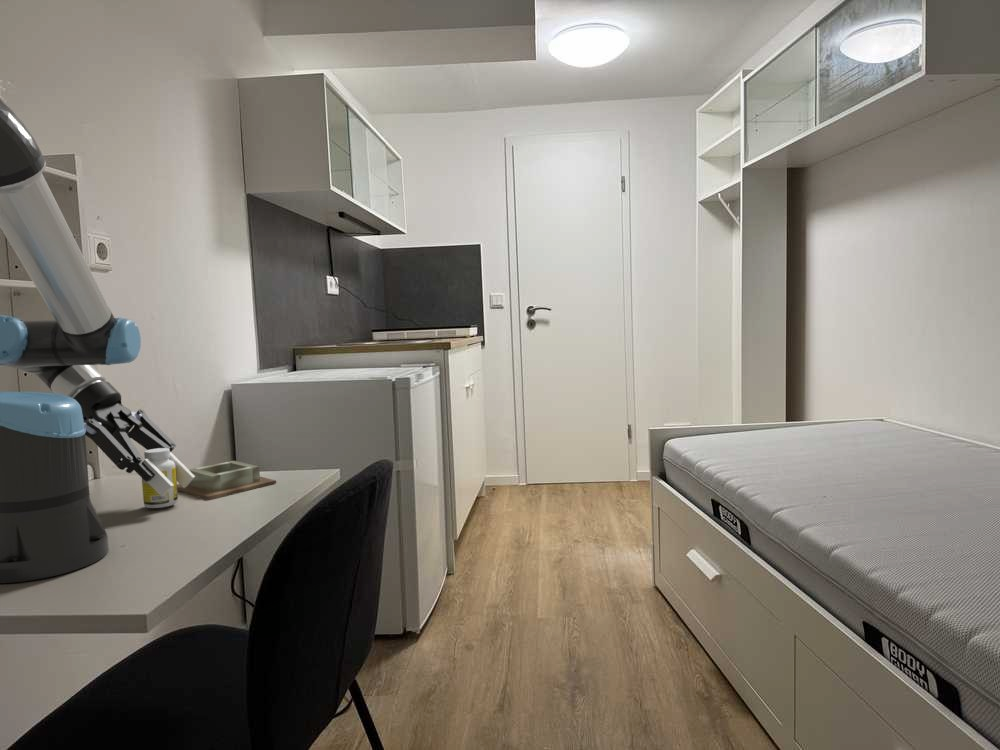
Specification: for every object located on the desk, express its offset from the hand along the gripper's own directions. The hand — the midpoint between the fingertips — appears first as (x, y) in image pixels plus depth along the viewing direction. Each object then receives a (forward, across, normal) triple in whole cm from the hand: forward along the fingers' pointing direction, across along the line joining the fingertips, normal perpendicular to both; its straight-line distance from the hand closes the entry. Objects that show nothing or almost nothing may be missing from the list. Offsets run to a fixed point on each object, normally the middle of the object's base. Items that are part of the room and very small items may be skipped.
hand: (178, 486), depth 115 cm
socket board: (+2, -14, -3) cm, 15 cm away
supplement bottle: (0, 0, -5) cm, 5 cm away
